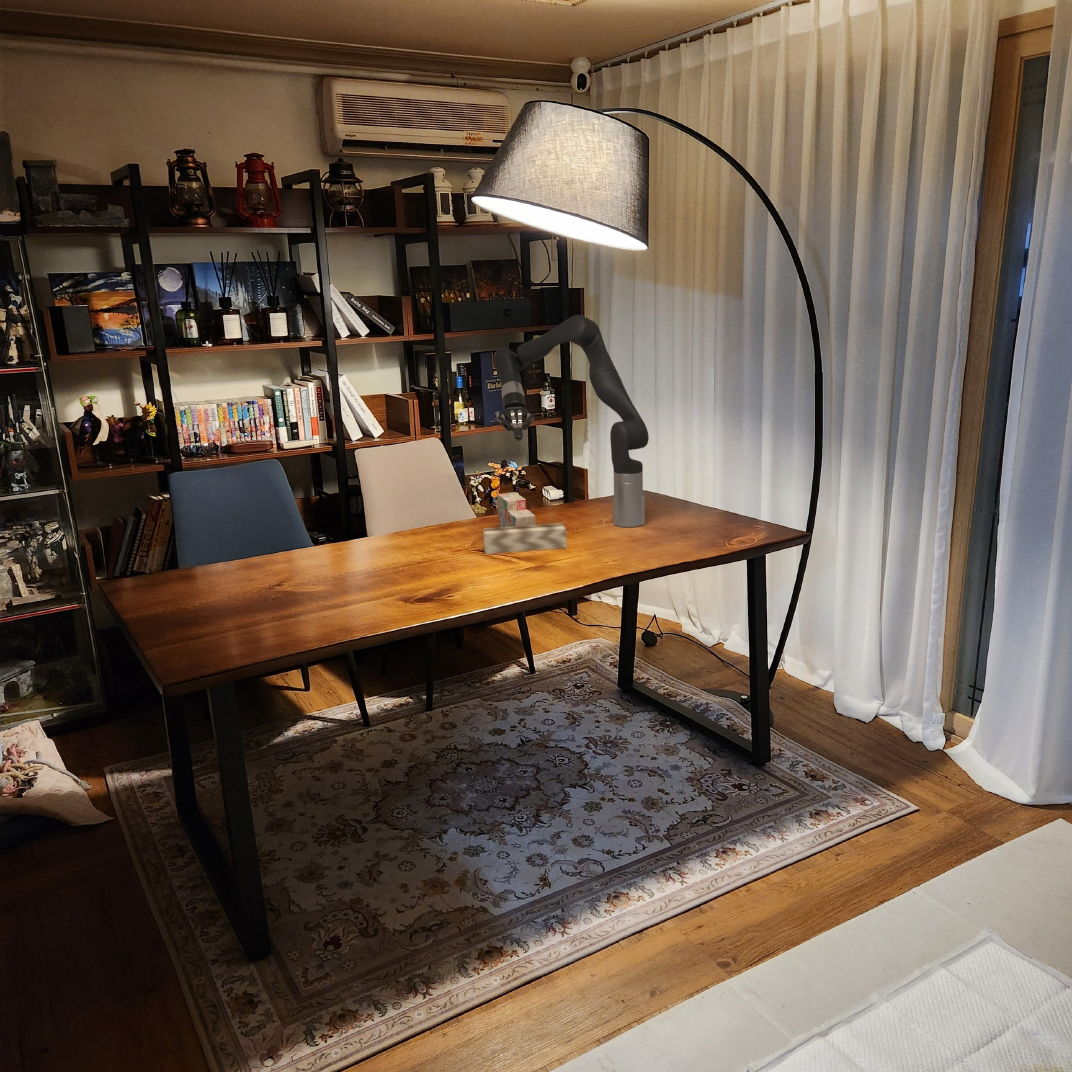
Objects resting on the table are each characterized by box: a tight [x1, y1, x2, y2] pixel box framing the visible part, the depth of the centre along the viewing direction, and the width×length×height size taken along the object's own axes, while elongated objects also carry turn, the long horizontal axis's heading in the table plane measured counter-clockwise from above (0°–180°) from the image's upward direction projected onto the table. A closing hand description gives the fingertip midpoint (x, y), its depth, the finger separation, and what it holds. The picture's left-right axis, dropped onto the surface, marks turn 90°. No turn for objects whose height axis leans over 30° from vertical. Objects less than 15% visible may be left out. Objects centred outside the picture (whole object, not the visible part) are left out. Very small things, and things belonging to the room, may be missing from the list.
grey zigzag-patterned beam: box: [482, 522, 567, 555], centre depth 272 cm, size 24×5×7 cm, turn 98°
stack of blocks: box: [496, 491, 537, 527], centre depth 284 cm, size 21×6×12 cm, turn 17°
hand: (518, 439), depth 307 cm, fingers closed
